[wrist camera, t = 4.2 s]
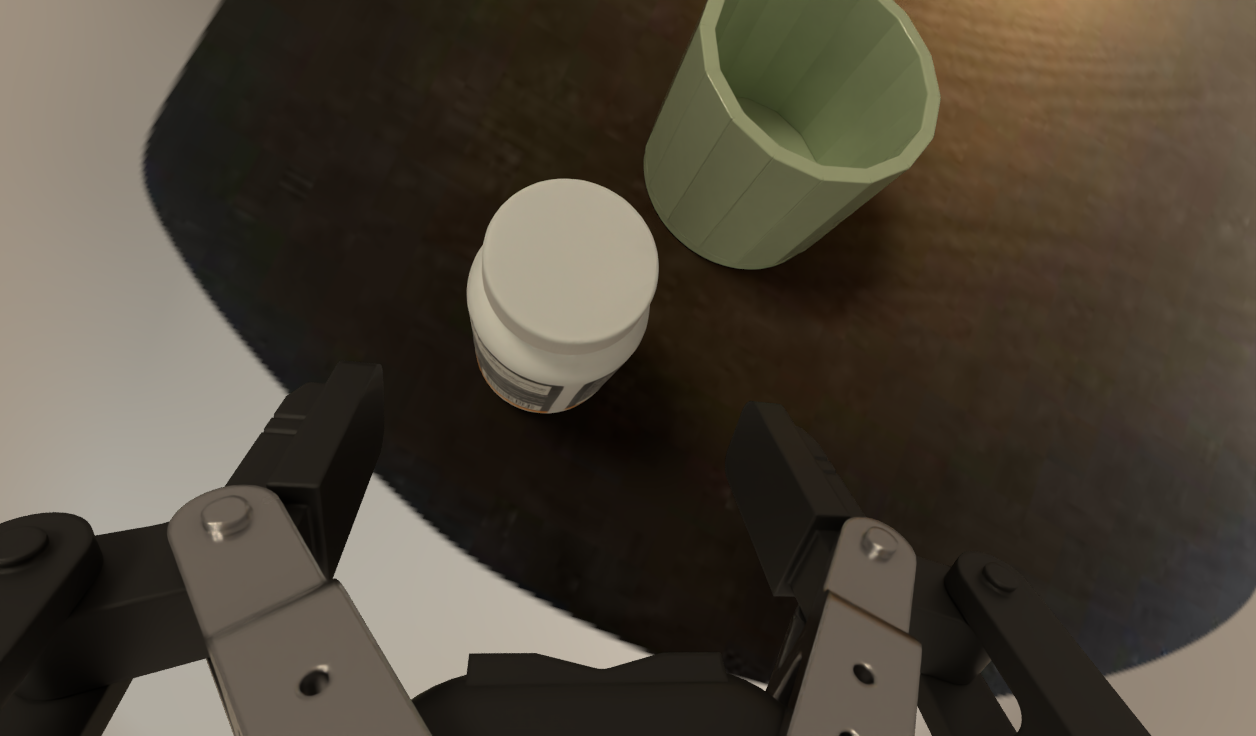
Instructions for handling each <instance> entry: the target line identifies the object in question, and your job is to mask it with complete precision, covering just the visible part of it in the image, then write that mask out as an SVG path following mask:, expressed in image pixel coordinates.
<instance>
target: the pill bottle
mask: <svg viewBox="0 0 1256 736" xmlns="http://www.w3.org/2000/svg"><path fill="white" fill-rule="evenodd" d="M658 272H659V264H658V254H657V249H656V245H655V242H654V239H653V236H652V234H651V232H650V230H649V228H648V226H647V225H646V223H645V222H644V220H643V219H642V217H641V216H640V215H639V214H638V212H637V211H636V210H635V209H634V208H633V207H632V206H631V205H630V204H629V203H628V202H627V201H625V200H624V199H623V198H622V197H620V196H619V195H617V194H616V193H614V192H612V191H610V190H609V189H607V188H605V187H602V186H600V185H597V184H594V183H591V182H587V181H583V180H575V179H553V180H547V181H543V182H538V183H535V184H533V185H530V186H528V187H526V188H524V189H522V190H521V191H519V192H517V193H516V194H514V195H513V196H512V197H510V198H509V199H508V200H507V201H506V202H505V203H504V204H503V205H502V206H501V207H500V209H499V210H498V211H497V212H496V214H495V215H494V217H493V219H492V220H491V222H490V224H489V226H488V229H487V231H486V235H485V239H484V244H483V245H482V247H481V248H480V250H479V252H478V253H477V255H476V257H475V259H474V262H473V264H472V267H471V270H470V274H469V278H468V284H467V305H468V310H469V314H470V320H471V325H472V331H473V337H474V345H475V351H476V356H477V360H478V364H479V367H480V370H481V372H482V374H483V376H484V378H485V380H486V381H487V383H488V384H489V386H490V387H491V388H492V389H493V390H494V391H495V392H496V394H498V395H499V396H500V397H501V398H502V399H504V400H505V401H507V402H508V403H510V404H512V405H513V406H515V407H518V408H520V409H523V410H526V411H530V412H537V413H555V412H561V411H565V410H568V409H571V408H573V407H575V406H577V405H579V404H581V403H582V402H584V401H586V400H587V399H588V398H590V397H591V396H592V395H593V394H595V393H596V392H597V391H598V390H599V388H600V387H601V386H602V385H603V384H604V383H605V382H606V381H607V380H608V379H609V378H610V377H611V376H612V375H613V374H614V373H615V372H616V371H617V370H618V369H619V368H620V367H621V366H622V365H623V364H624V363H625V362H626V361H627V360H628V359H629V357H630V356H631V355H632V354H633V353H634V351H635V350H636V349H637V347H638V346H639V344H640V342H641V339H642V337H643V335H644V332H645V330H646V326H647V321H648V316H649V307H650V303H651V301H652V298H653V296H654V293H655V290H656V286H657V282H658Z"/></svg>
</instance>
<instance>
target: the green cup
mask: <svg viewBox="0 0 1256 736" xmlns="http://www.w3.org/2000/svg"><path fill="white" fill-rule="evenodd" d="M906 14H907V13H906V12H905V11H904V10H903V9H902V8H901V7H900V6H898V5H897V4H896V3H895V2H894V1H893V0H707V1H706V3H705V6H704V8H703V10H702V13H701V15H700V17H699V20H698V22H697V24H696V26H695V29H694V31H693V33H692V36H691V38H690V40H689V43H688V45H687V47H686V50H685V52H684V54H683V57H682V59H681V61H680V64H679V66H678V68H677V71H676V73H675V75H674V78H673V80H672V82H671V85H670V87H669V89H668V92H667V94H666V96H665V99H664V101H663V103H662V106H661V108H660V110H659V112H658V115H657V117H656V120H655V123H654V125H653V128H652V131H651V133H650V136H649V138H648V141H647V145H646V148H645V155H644V176H645V182H646V187H647V190H648V193H649V197H650V199H651V201H652V204H653V206H654V208H655V210H656V212H657V213H658V215H659V217H660V218H661V220H662V221H663V223H664V224H665V225H666V227H667V228H668V229H669V230H670V232H671V233H672V234H673V235H674V236H675V237H676V238H677V239H678V240H679V241H681V242H682V243H683V244H684V245H685V246H687V247H688V248H689V249H691V250H692V251H694V252H695V253H697V254H698V255H700V256H702V257H704V258H706V259H708V260H710V261H712V262H715V263H718V264H721V265H724V266H728V267H733V268H738V269H763V268H768V267H773V266H776V265H779V264H781V263H784V262H786V261H788V260H790V259H791V258H793V257H794V256H796V255H797V254H799V253H802V252H804V251H805V250H806V249H808V248H809V247H810V246H812V245H813V244H814V243H815V242H817V241H818V240H819V239H820V238H822V237H823V236H824V235H825V234H827V233H828V232H829V231H831V230H832V229H833V228H834V227H836V226H837V225H838V224H839V223H841V222H842V221H843V220H844V219H846V218H847V217H848V216H849V215H851V214H852V213H853V212H855V211H856V210H857V209H858V208H860V207H861V206H862V205H863V204H865V203H866V202H867V201H868V200H870V199H871V198H872V197H874V196H875V195H876V194H877V193H879V192H880V191H881V190H882V189H884V188H885V187H886V186H887V185H889V184H890V183H891V182H893V181H894V180H895V179H896V178H898V177H899V176H900V175H901V174H903V173H904V172H905V171H906V170H908V169H909V168H910V167H911V166H912V165H913V163H914V162H915V161H916V160H917V158H918V157H919V156H920V155H921V153H922V152H923V151H924V149H925V148H926V147H927V146H928V144H929V143H930V142H931V141H932V139H933V137H934V134H935V128H936V122H937V117H938V111H939V106H940V100H941V98H940V97H941V95H940V91H939V86H938V82H937V77H936V73H935V68H934V64H933V60H932V56H931V53H930V51H929V50H928V48H927V46H926V45H925V43H924V41H923V40H922V38H921V36H920V35H919V33H918V31H917V30H916V28H915V26H914V25H913V23H912V21H911V20H910V18H909V16H908V15H906Z"/></svg>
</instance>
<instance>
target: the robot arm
mask: <svg viewBox="0 0 1256 736" xmlns="http://www.w3.org/2000/svg"><path fill="white" fill-rule="evenodd" d="M383 435H384V397H383V371H382V366H381V365H380V364H374V363H364V362H354V361H344V360H341V361H339V362H338V364H337V366H336V367H335V369H334V371H333V372H332V374H331V376H330V377H329V379H328V381H327V382H326V384H324V383H313V382H308V383H306V384H305V385H303V386H301V387H300V388H298V389H297V390H295V391H294V392H292V393H291V394H289V395H287V396H286V397H285V399H284V400H283V402H282V403H281V405H280V406H279V408H278V409H277V411H276V412H275V413H274V418H271V419H270V421H269V422H268V424H267V425H266V427H265V428H264V432H263V433H261V434H260V435H259V437H258V438H257V440H256V441H255V443H254V444H253V446H252V447H251V449H250V450H249V452H248V453H247V455H246V456H245V458H244V459H243V460H242V462H241V463H240V465H239V466H238V468H237V469H236V471H235V472H234V474H233V475H232V476H231V478H230V479H229V481H228V483H227V484H226V485H225V487H223V488H218V489H215V490H212V491H209V492H206V493H204V494H202V495H200V496H198V497H196V498H194V499H193V500H191V501H189V502H188V503H186V504H185V505H184V506H183V507H181V508H180V509H179V510H178V511H177V512H176V514H175V515H174V516H173V517H172V519H171V520H170V522H166V523H163V524H158V525H153V526H149V527H143V528H137V529H131V530H125V531H119V532H114V533H108V534H102V535H96V536H95V535H94V532H93V530H92V528H91V526H90V524H89V523H88V522H87V521H86V520H85V519H83V518H81V517H79V516H76V515H73V514H68V513H56V512H53V513H40V514H33V515H28V516H23V517H19V518H16V519H12V520H9V521H6V522H3V523H1V524H0V736H101V735H102V734H103V731H104V730H105V728H106V727H107V725H108V723H109V721H110V719H111V717H112V716H113V714H114V712H115V710H116V708H117V707H118V705H119V703H120V701H121V699H122V698H123V696H124V694H125V692H126V690H127V689H128V687H129V685H130V683H131V681H132V679H133V678H136V677H139V676H143V675H147V674H150V673H154V672H158V671H161V670H165V669H169V668H172V667H176V666H180V665H183V664H187V663H191V662H194V661H198V660H202V659H205V658H206V660H207V663H208V665H209V668H210V671H211V674H212V676H213V679H214V682H215V685H216V688H217V690H218V693H219V696H220V699H221V701H222V704H223V707H224V710H225V713H226V715H227V718H228V721H229V724H230V726H231V729H232V732H233V734H234V736H915V724H916V713H917V706H918V708H919V710H920V712H921V714H922V716H923V718H924V720H925V722H926V724H927V726H928V728H929V730H930V732H931V735H932V736H1151V735H1150V734H1149V733H1148V731H1147V730H1146V729H1145V727H1144V726H1143V725H1142V724H1141V722H1140V721H1139V720H1138V719H1137V717H1136V716H1135V715H1134V714H1133V712H1132V711H1131V710H1130V709H1129V708H1128V706H1127V705H1126V704H1125V702H1124V701H1123V700H1122V699H1121V697H1120V696H1119V695H1118V694H1117V692H1116V691H1115V690H1114V689H1113V687H1112V686H1111V685H1110V684H1109V682H1108V681H1107V680H1106V679H1105V677H1104V676H1103V675H1102V674H1101V672H1100V671H1099V670H1098V669H1097V667H1096V666H1095V665H1094V664H1093V662H1092V661H1091V660H1090V659H1089V657H1088V656H1087V655H1086V654H1085V652H1084V651H1083V650H1082V649H1081V647H1080V646H1079V645H1078V644H1077V642H1076V641H1075V640H1074V639H1073V637H1072V636H1071V635H1070V634H1069V632H1068V631H1067V630H1066V629H1065V627H1064V626H1063V625H1062V624H1061V622H1060V621H1059V620H1058V619H1057V617H1056V616H1055V615H1054V614H1053V612H1052V611H1051V610H1050V609H1049V607H1048V606H1047V605H1046V604H1045V602H1044V601H1043V600H1042V599H1041V597H1040V596H1039V595H1038V594H1037V592H1036V591H1035V590H1034V589H1033V587H1032V586H1031V585H1030V584H1029V583H1028V581H1027V580H1026V579H1025V578H1024V577H1023V576H1022V575H1021V574H1020V573H1019V572H1017V571H1016V570H1015V569H1014V568H1012V567H1011V566H1010V565H1008V564H1007V563H1005V562H1003V561H1002V560H1000V559H998V558H996V557H994V556H991V555H989V554H986V553H983V552H978V551H966V552H964V553H962V554H961V555H960V556H959V557H958V559H957V560H956V561H955V563H954V564H953V565H952V567H951V566H947V565H944V564H941V563H938V562H934V561H931V560H928V559H924V558H921V557H918V556H915V553H914V551H913V549H912V548H911V546H910V544H909V543H908V542H907V541H906V540H905V539H904V538H903V537H902V536H901V535H900V534H899V533H898V532H896V531H895V530H894V529H892V528H891V527H889V526H887V525H885V524H884V523H882V522H879V521H877V520H874V519H871V518H866V517H865V515H864V514H863V512H862V511H861V509H860V507H859V506H858V504H857V503H856V501H855V500H854V498H853V497H852V495H851V493H850V492H849V490H848V489H847V487H846V486H845V484H844V483H843V481H842V479H841V478H840V476H839V475H838V474H836V470H835V469H834V467H833V465H832V464H831V462H830V461H827V456H826V455H825V453H824V451H823V450H822V448H821V447H820V445H819V444H818V442H817V441H816V440H815V439H814V438H812V437H811V436H810V435H809V434H808V433H807V432H805V431H804V430H803V429H802V428H801V427H796V426H795V425H794V423H793V421H792V420H791V418H790V416H789V415H788V413H787V412H786V410H785V408H784V407H783V406H782V405H781V404H774V403H764V402H754V401H749V402H748V403H746V405H745V406H744V408H743V410H742V413H741V416H740V418H739V421H738V424H737V426H736V429H735V432H734V434H733V437H732V440H731V442H730V445H729V448H728V451H727V454H726V460H725V471H726V477H727V480H728V482H729V485H730V487H731V490H732V492H733V495H734V497H735V500H736V502H737V505H738V507H739V510H740V512H741V515H742V517H743V520H744V523H745V525H746V528H747V530H748V533H749V535H750V538H751V540H752V543H753V545H754V548H755V550H756V553H757V555H758V558H759V560H760V563H761V565H762V568H763V570H764V573H765V575H766V578H767V581H768V583H769V586H770V588H771V591H772V593H773V596H795V597H796V599H797V601H798V604H799V605H798V607H797V608H796V610H795V612H794V614H793V616H792V619H791V622H790V625H789V627H788V630H787V633H786V636H785V639H784V642H783V644H782V647H781V650H780V653H779V656H778V659H777V662H776V664H775V667H774V670H773V673H772V676H771V679H770V681H769V684H768V686H767V689H766V691H764V690H763V689H761V688H759V687H758V686H756V685H754V684H752V683H750V682H748V681H746V680H744V679H741V678H739V677H736V676H734V675H731V674H727V673H726V670H725V667H724V663H723V660H722V656H721V652H663V653H660V654H656V655H653V656H649V657H646V658H642V659H639V660H635V661H632V662H629V663H625V664H622V665H618V666H615V667H611V668H607V669H597V668H592V667H589V666H585V665H581V664H576V663H573V662H569V661H564V660H561V659H557V658H553V657H549V656H545V655H541V654H537V653H491V654H490V653H489V654H487V653H486V654H485V653H484V654H483V653H482V654H469V660H468V668H467V675H464V676H460V677H457V678H454V679H451V680H448V681H446V682H443V683H441V684H438V685H436V686H434V687H432V688H430V689H428V690H426V691H424V692H423V693H421V694H419V695H417V696H416V697H414V698H413V699H412V700H411V699H410V698H409V696H408V694H407V692H406V691H405V689H404V687H403V686H402V684H401V682H400V681H399V679H398V677H397V676H396V674H395V672H394V671H393V669H392V667H391V665H390V664H389V662H388V660H387V659H386V657H385V655H384V654H383V652H382V650H381V648H380V647H379V645H378V644H377V642H376V640H375V639H374V637H373V635H372V633H371V632H370V630H369V628H368V627H367V625H366V623H365V621H364V620H363V618H362V616H361V615H360V613H359V612H358V610H357V608H356V606H355V605H354V603H353V601H352V600H351V598H350V596H349V595H348V593H347V591H346V590H345V588H344V587H343V585H342V584H341V583H340V582H339V581H338V580H337V579H333V576H334V573H335V571H336V568H337V565H338V563H339V560H340V558H341V555H342V552H343V550H344V547H345V544H346V542H347V539H348V536H349V534H350V531H351V529H352V526H353V523H354V521H355V518H356V515H357V513H358V510H359V507H360V504H361V502H362V499H363V497H364V494H365V491H366V489H367V486H368V484H369V481H370V478H371V476H372V473H373V470H374V468H375V465H376V462H377V460H378V457H379V454H380V451H381V447H382V442H383ZM991 660H992V662H993V663H994V665H995V666H996V668H997V670H998V671H999V673H1000V674H1001V676H1002V677H1003V679H1004V680H1005V682H1006V684H1007V685H1008V687H1009V688H1010V690H1011V691H1012V693H1013V694H1014V696H1015V698H1016V699H1017V701H1018V704H1019V706H1020V710H1021V715H1022V723H1021V727H1020V729H1019V731H1018V732H1016V730H1015V729H1014V727H1013V726H1012V724H1011V722H1010V721H1009V719H1008V717H1007V716H1006V714H1005V712H1004V711H1003V709H1002V708H1001V706H1000V704H999V703H998V701H997V699H996V698H995V696H994V695H993V693H992V691H991V690H990V688H989V686H988V685H987V683H986V681H985V680H984V678H983V677H982V675H981V673H980V672H981V671H982V670H983V669H984V668H985V666H986V665H987V664H988V663H989V662H990V661H991Z"/></svg>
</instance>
